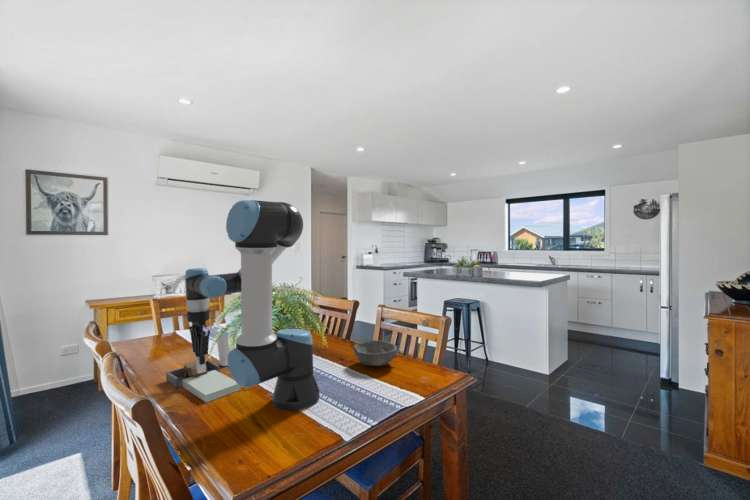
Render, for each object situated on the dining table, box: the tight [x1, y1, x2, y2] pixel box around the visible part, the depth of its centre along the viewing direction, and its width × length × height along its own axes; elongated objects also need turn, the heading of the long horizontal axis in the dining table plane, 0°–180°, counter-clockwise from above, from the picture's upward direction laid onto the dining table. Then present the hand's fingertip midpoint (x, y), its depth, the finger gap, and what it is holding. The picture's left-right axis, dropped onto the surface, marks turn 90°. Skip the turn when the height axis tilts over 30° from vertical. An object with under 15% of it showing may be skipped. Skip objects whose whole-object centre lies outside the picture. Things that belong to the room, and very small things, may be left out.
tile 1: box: [182, 359, 196, 377], centre depth 139 cm, size 5×5×3 cm
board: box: [181, 370, 241, 403], centre depth 128 cm, size 20×12×2 cm, turn 49°
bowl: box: [353, 340, 398, 367], centre depth 147 cm, size 18×18×8 cm
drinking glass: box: [216, 328, 230, 367], centre depth 151 cm, size 7×7×15 cm
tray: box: [165, 359, 221, 389], centre depth 138 cm, size 10×16×4 cm, turn 139°
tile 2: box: [188, 365, 207, 378], centre depth 135 cm, size 5×5×3 cm
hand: (201, 372), depth 133 cm, fingers closed
